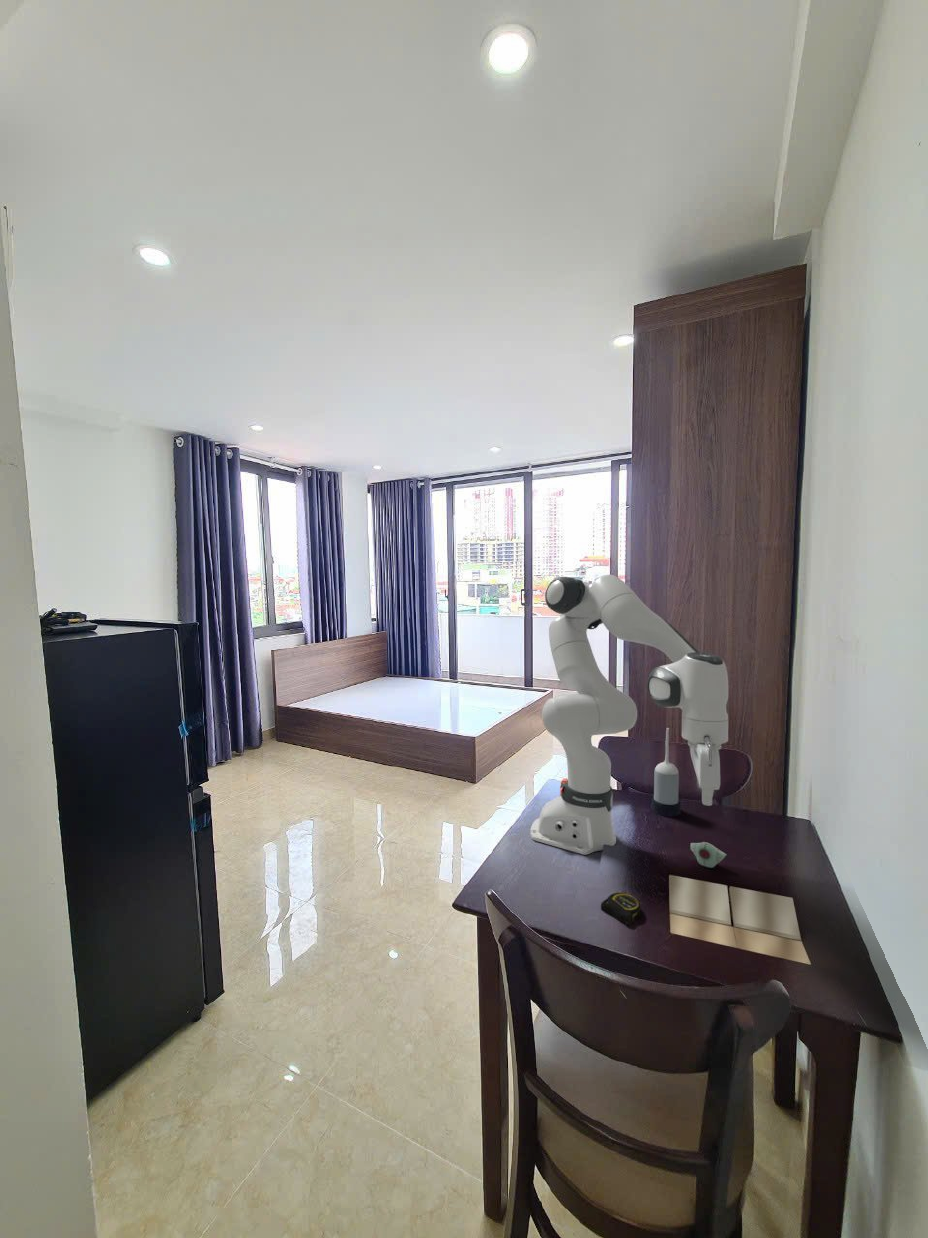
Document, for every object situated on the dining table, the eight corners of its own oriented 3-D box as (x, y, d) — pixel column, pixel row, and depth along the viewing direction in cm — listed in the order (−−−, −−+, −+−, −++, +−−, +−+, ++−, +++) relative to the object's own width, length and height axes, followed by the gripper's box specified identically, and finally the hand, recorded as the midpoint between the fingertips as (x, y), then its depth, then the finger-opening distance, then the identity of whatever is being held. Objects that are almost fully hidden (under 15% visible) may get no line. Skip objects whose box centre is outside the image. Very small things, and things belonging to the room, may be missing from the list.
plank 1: (669, 916, 101) (669, 912, 100) (669, 878, 107) (669, 874, 106) (730, 929, 97) (731, 925, 96) (726, 889, 103) (727, 885, 102)
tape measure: (598, 916, 101) (598, 898, 101) (620, 904, 105) (620, 887, 105) (626, 935, 96) (626, 917, 96) (648, 922, 100) (648, 904, 99)
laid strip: (670, 940, 94) (670, 932, 94) (669, 920, 100) (669, 913, 100) (810, 973, 86) (811, 964, 86) (801, 949, 92) (801, 941, 92)
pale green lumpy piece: (726, 872, 116) (727, 844, 116) (722, 880, 113) (723, 852, 113) (690, 860, 122) (691, 834, 121) (685, 868, 118) (686, 840, 118)
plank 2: (733, 930, 97) (734, 926, 96) (729, 890, 103) (729, 886, 102) (799, 944, 93) (801, 940, 92) (791, 902, 99) (792, 897, 98)
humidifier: (679, 806, 151) (681, 726, 150) (681, 818, 144) (683, 733, 142) (651, 803, 154) (652, 723, 153) (651, 814, 147) (652, 731, 145)
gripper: (729, 745, 94) (728, 817, 94) (714, 720, 113) (714, 781, 113) (692, 742, 96) (692, 813, 96) (684, 718, 115) (684, 777, 115)
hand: (704, 795), depth 105 cm, fingers open, 8 cm apart
